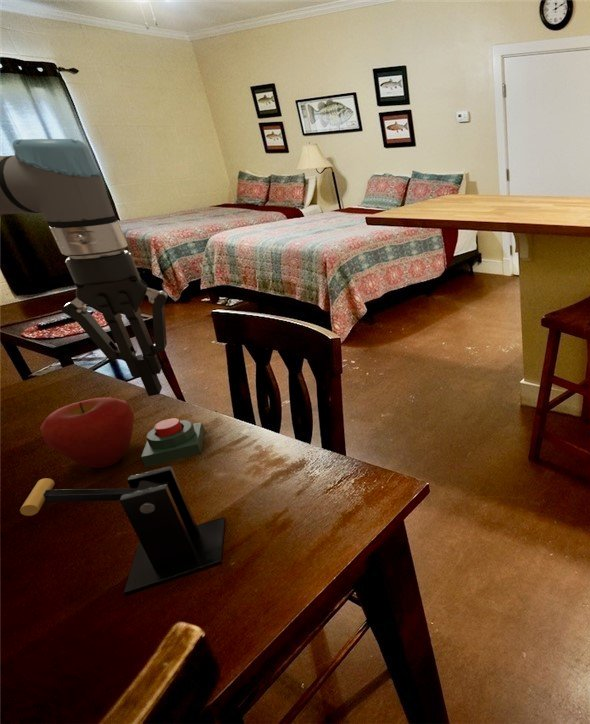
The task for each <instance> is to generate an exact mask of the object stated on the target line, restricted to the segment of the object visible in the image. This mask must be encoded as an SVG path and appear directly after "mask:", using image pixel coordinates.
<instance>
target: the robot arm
mask: <svg viewBox="0 0 590 724" xmlns="http://www.w3.org/2000/svg"><path fill="white" fill-rule="evenodd" d="M12 149H13V150H14V154H13V155H0V215H17V214H18V215H19V214H42V215H43V217H44V219H45V221H46V223H47V225H48V227H49V230H50V232H51V234H52V236H53V238H54V240H55V243H56V244H57V247H58V249H59V252H60V253H61V254H62V255H64V256H67V257H66V259H65V261H64V263H65V265H66V267H67V269H68V272H69V274H70V276H71V278H72V280H73V283H74V285H75V287H76V291H75V298H73V300H72V301H68V302H67V303H65V305H63V306H62V308H61V312H62V313H63V314H65V315H66V316H68V317H69V318H71V319H72V320H74V321H75V322H77V324H78V325H79V326H80V328H81V329H83V330H82V331H84V332H85V333H86V334H87V336H88V338H90V339H91V340H92V342H94V344H95V345H96V347H98V349H99V350H100V351H101V352H102V354H103V355H104V356H105V357H106V359H108V360H110V361H116V360H120V361H123V362H125V364H126V366H127V368H128V370H129V373H130V375H131V377H132V378H133V379H138V378H140V379H141V382H142V384H143V387H144V389H145V392H146V394H147V397H152V396H158V395H160V393H161V391H162V388H163V387H162V383H161V382H160V378H159V376H158V375H160V374H161V372H162V364H161V363H160V360H159V357H158V355H157V354H159V353H162V352H164V351H165V349H166V348H167V344H168V340H167V326H166V310H165V309H166V308H165V305H166V302H167V300H168V297H169V293H168V291H167V290H164V289H163V290H157V289H155V288H151V287H149V286H148V284H147V283H146V281H144V280H143V279H142V278H141V275H140V273H139V271H138V268H137V265H136V263H135V261H134V258H133V255H132V253H131V252H130V251H128V250H126V248H127V247H128V246H129V245H128V243H127V242H128V241H127V240H126V237H125V235H124V233H123V229H122V227H121V225H120V222H119V220H118V217H117V215H116V213H115V212H114V210H113V207H112V204H111V201H110V198H109V196H108V192H107V189H106V187H105V183H104V181H103V178H102V171H101V170H100V169H99V168H98V166H97V163H96V162H95V160H94V158H93V156H92V154H91V151H90V149H89V147H88V145H86V144H85V143H84V142H83V141H81V140H79V139H76V138H31V139H30V138H28V139H27V138H25V139H24V138H21V139H15V140H13V142H12ZM146 296H147V298H148V302H149V303H150V304H152V307H151V309H152V311H151V312H152V324H153V326H152V327H153V339H154V343H153V340H152V338H151V335H150V333H149V330H148V328H147V325H146V323H145V321H144V317H143V316H142V311H141V309H140V307H141V305H142V303H143V301H144V299H145V298H146ZM88 307H90V308H91V309H93V310H95V311H97V312H98V313H100V314H101V315H102V316H103V319H104V321H105V322H106V323H107V325H108V327H109V330H110V332H111V334H112V336H113V339H112V338H111V337H110V336H109V334H108V333H107V332H106V331H105V329H104V328H103V327H102V326H101V325H100V323H99V322H98V321H97V319H95V317H94V315H92V314H91V312H89V311H88ZM122 314H124V316H125V318H126V320H128V323H129V325H130V327H131V330H132V332H133V334H134V337H135V339H136V343H137V344H138V347H139V349H140V351H141V354H137V351H138V350H136V349H135V347H134V344H133V342H132V340H131V337H130V335H129V332H128V330H127V328H126V326H125V323H124V321H123V318H122ZM113 340H114V341H115V342H114V341H113Z"/></svg>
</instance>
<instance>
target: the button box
mask: <svg viewBox="0 0 590 724" xmlns="http://www.w3.org/2000/svg"><path fill="white" fill-rule="evenodd" d="M179 420H180V423H181V425H182V430H181V431H180V432H178V433H176V434H173V435H170V436H166V437H159V436H158V435H157V433H156V430H155V428H154V427H153V429H151V430H150V431H149V432H147V434H146V437H145V439H146V442H145V444H144V448H143V450H142V453H141V456H140V459H141V461H142V463H143V465H144V467H145V468H148V467H149V468H150V467H152V466H156V465H160V464H165V463H169V462H173V461H177V460H181V459H185V458H189V457H193V456H197V455H202V452H203V447H204V442H205V441H204V440H205V435H206V429H205V427H204V424H203V422H195V423H193V422H191V421H190V420H187V419H182V420H181V419H179Z"/></svg>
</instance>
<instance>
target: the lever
mask: <svg viewBox="0 0 590 724" xmlns="http://www.w3.org/2000/svg"><path fill="white" fill-rule="evenodd" d="M168 482H169V481H168V480H157V481H140V483H139V485H138V488H131V487H128V488H127V487H125V488H123V487H122V488H79V489H78V488H77V489H74V488H73V489H53V488H54V486H55V481H54V480H53V479H52V478H49V477H48V478H47V477H46V478H41V479H39V480H38V481H37V482H36V484H35V485H34V487H33V488H32V489H31V492H30V493H29V495H28V496H27V497H26V499H25V500H24V502H23V504H22V506H21V507H20V509H19V513H20V515H23V516H25V517H31V516H35V515H37V514H38V513H39V512H40V510H41V508H42V507H43V505H44V503H46V504H49V503H76V502H77V503H78V502H80V503H82V502H116V501H117V502H118V501H120V498H121V496H122V495H126V494H130V493H134V492H138V491H142V490H146V489H149V488H153V487H157V486H161V485H165V484H167V486H168Z"/></svg>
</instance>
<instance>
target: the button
mask: <svg viewBox="0 0 590 724" xmlns="http://www.w3.org/2000/svg"><path fill="white" fill-rule="evenodd" d="M180 420H181V419H179V418H173V417H172V418H167V419H163V420H161V421H159V422H158V423H156V424H155V425H154V427H153V429H154V428H155V430H156V433H157V435H158V436H159V437H166V436H170V435H173V434H176V433H178V432H180V431H181V430H182V425H181V423H180Z"/></svg>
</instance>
